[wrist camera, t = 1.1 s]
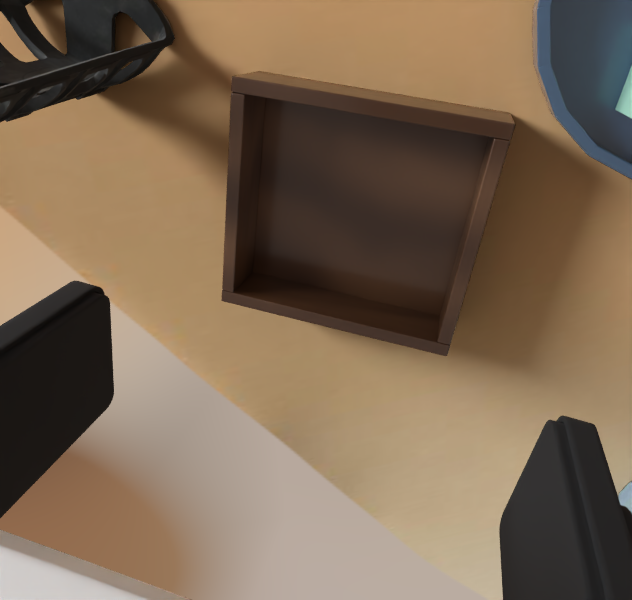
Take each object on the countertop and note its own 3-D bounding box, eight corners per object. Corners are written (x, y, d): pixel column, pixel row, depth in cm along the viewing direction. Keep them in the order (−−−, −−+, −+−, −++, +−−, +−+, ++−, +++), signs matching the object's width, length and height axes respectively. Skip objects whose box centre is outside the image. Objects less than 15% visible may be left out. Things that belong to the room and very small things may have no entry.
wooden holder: (258, 71, 31) (231, 75, 28) (510, 112, 29) (515, 123, 25) (244, 275, 38) (221, 301, 34) (449, 324, 35) (446, 356, 32)
